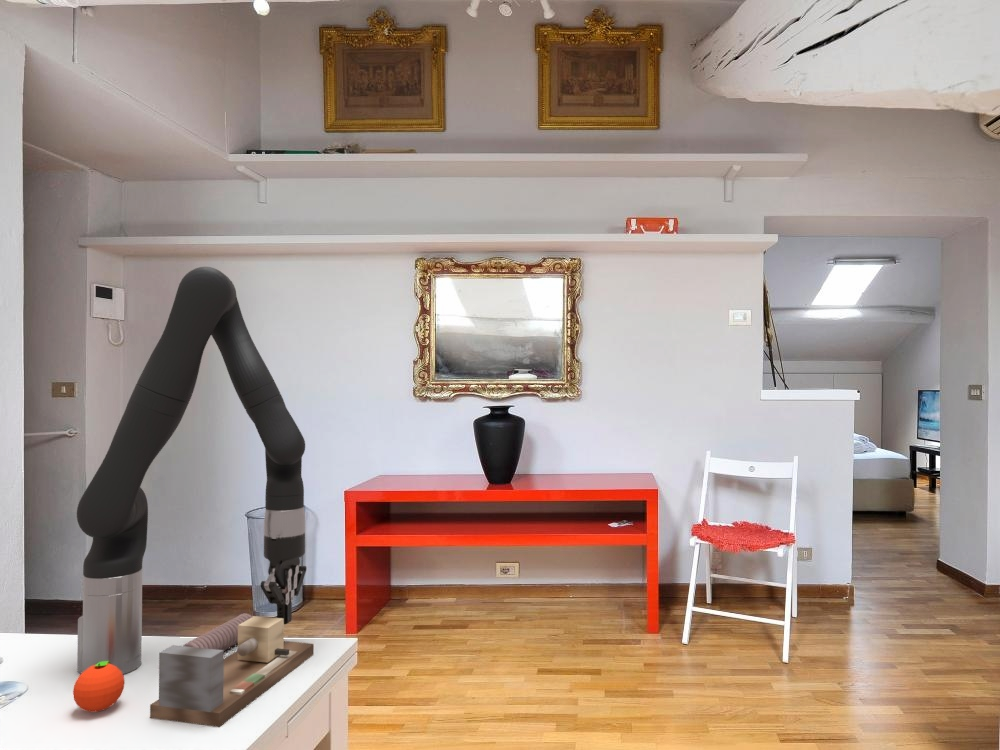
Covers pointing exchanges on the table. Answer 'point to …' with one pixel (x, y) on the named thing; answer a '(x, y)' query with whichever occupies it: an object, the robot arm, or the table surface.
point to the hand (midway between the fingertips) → (284, 622)
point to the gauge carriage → (261, 639)
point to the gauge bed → (230, 682)
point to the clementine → (98, 687)
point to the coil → (220, 635)
